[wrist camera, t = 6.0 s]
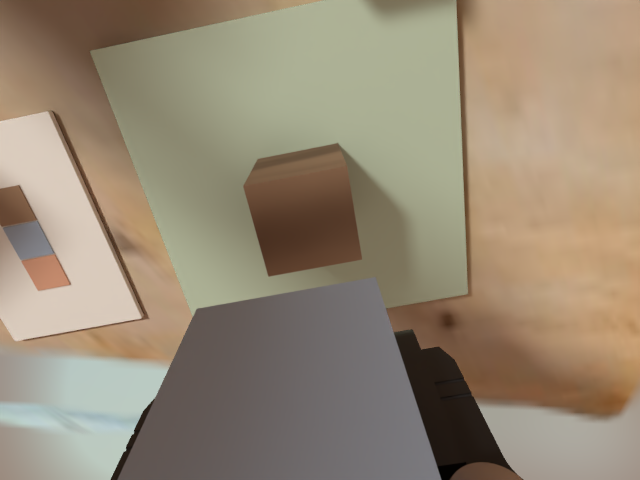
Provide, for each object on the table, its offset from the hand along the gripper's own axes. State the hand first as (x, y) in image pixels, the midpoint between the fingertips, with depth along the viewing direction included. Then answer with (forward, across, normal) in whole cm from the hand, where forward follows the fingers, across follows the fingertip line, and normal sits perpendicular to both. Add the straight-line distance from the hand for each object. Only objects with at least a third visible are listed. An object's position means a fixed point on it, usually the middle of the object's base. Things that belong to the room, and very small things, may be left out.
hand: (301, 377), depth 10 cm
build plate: (+17, 0, 0) cm, 17 cm away
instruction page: (+17, +19, 0) cm, 26 cm away
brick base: (+16, 0, 0) cm, 16 cm away
